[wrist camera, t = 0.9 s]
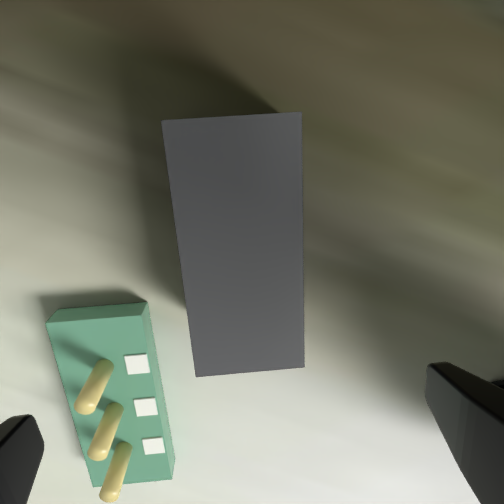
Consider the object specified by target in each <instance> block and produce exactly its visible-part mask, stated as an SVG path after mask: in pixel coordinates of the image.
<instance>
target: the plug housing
mask: <svg viewBox="0 0 504 504" xmlns="http://www.w3.org/2000/svg"><path fill="white" fill-rule="evenodd" d="M161 125H162V132H163V140H164V147H165V154H166V162H167V169H168V176H169V184H170V191H171V198H172V206H173V213H174V220H175V228H176V235H177V242H178V250H179V257H180V265H181V272H182V279H183V287H184V294H185V301H186V309H187V316H188V323H189V331H190V338H191V345H192V353H193V360H194V367H195V375H196V377H203V376H214V375H225V374H236V373H247V372H258V371H269V370H281V369H292V368H303V367H305V364H304V270H303V177H302V112H289V113H272V114H256V115H240V116H224V117H207V118H191V119H175V120H161Z"/></svg>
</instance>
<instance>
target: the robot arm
mask: <svg viewBox="0 0 504 504" xmlns="http://www.w3.org/2000/svg"><path fill="white" fill-rule="evenodd" d="M425 397H426V401H427V403H428V406H429V408H430V410H431V412H432V414H433V416H434V418H435V420H436V422H437V424H438V426H439V428H440V430H441V432H442V434H443V436H444V438H445V440H446V442H447V444H448V446H449V448H450V450H451V453H452V455H453V457H454V459H455V461H456V462H457V464H458V466H459V468H460V470H461V472H462V473H463V475H464V477H465V479H466V480H467V482H468V484H469V485H470V487H471V489H472V490H473V492H474V493H475V495H476V497H477V498H478V500H479V502H480V503H481V504H504V380H502V381H495V382H493V383H490V382H488V381H485V380H483V379H481V378H479V377H477V376H475V375H473V374H471V373H469V372H467V371H465V370H463V369H461V368H459V367H457V366H455V365H453V364H451V363H449V362H437V363H431V364H429V365H428V366H427V370H426V383H425ZM43 452H44V441H43V438H42V435H41V433H40V430H39V428H38V425H37V423H36V420H35V418H34V417H33V416H32V415H29V414H27V415H19V416H13V417H10V418H9V419H7V420H6V421H4V422H3V423H2V424H0V504H27V501H28V498H29V495H30V492H31V489H32V486H33V483H34V480H35V477H36V474H37V471H38V468H39V465H40V462H41V459H42V456H43Z"/></svg>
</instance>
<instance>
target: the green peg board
mask: <svg viewBox="0 0 504 504" xmlns="http://www.w3.org/2000/svg"><path fill="white" fill-rule="evenodd" d="M45 324H46V328H47V331H48V335H49V338H50V341H51V345H52V348H53V352H54V355H55V359H56V362H57V365H58V369H59V372H60V376H61V379H62V383H63V386H64V389H65V393H66V396H67V400H68V403H69V407H70V410H71V413H72V417H73V420H74V424H75V427H76V431H77V434H78V437H79V441H80V444H81V448H82V451H83V455H84V458H85V461H86V465H87V468H88V472H89V475H90V479H91V482H92V485H93V487H100V486H102V488H101V491H100V494H99V497H100V499H101V500H103V501H105V502H114V501H116V500H117V499H118V497H119V493H120V490H121V487H122V484H130V483H140V482H150V481H160V480H170V479H172V475H173V469H174V463H175V455H174V450H173V444H172V438H171V433H170V427H169V422H168V416H167V410H166V405H165V399H164V393H163V388H162V382H161V376H160V371H159V365H158V359H157V354H156V348H155V342H154V337H153V331H152V325H151V320H150V314H149V308H148V303H147V302H141V303H129V304H117V305H105V306H92V307H80V308H68V309H58V310H57V311H56V312H55V313H54V314H53V315H52V316H51V317H50V319H49V320H48V321H47V322H46V323H45Z"/></svg>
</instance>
